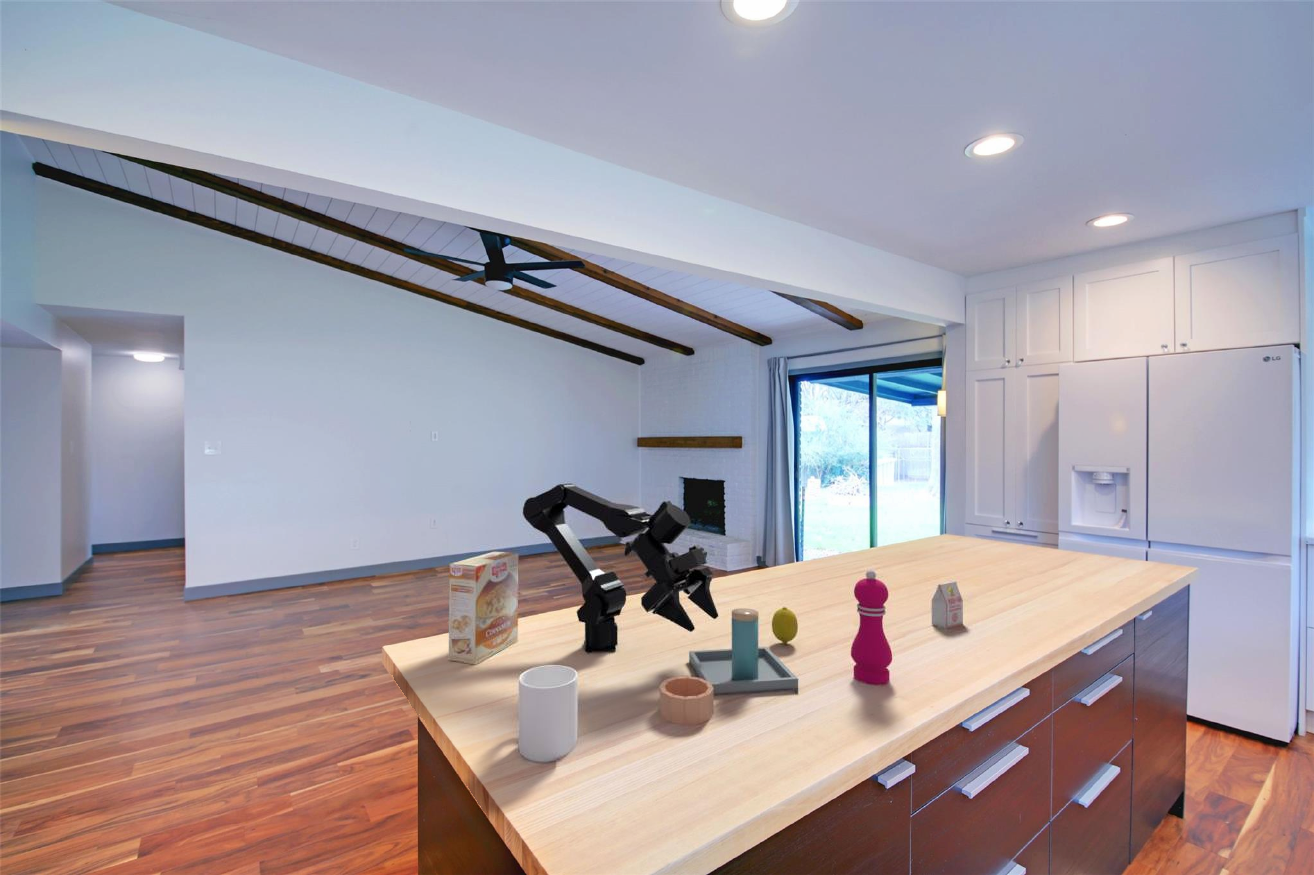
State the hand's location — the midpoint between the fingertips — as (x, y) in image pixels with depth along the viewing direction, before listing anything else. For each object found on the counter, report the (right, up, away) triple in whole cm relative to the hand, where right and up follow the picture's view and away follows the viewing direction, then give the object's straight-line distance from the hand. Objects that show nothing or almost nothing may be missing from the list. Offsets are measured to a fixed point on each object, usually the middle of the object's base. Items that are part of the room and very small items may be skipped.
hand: (705, 623), depth 108 cm
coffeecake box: (-45, -10, +12) cm, 48 cm away
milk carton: (+61, -10, +30) cm, 69 cm away
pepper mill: (+31, -10, -2) cm, 32 cm away
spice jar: (+7, -8, -5) cm, 12 cm away
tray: (+6, -9, -2) cm, 12 cm away
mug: (-26, -9, -25) cm, 37 cm away
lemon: (+19, -10, +16) cm, 27 cm away
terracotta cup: (-4, -9, -17) cm, 20 cm away
